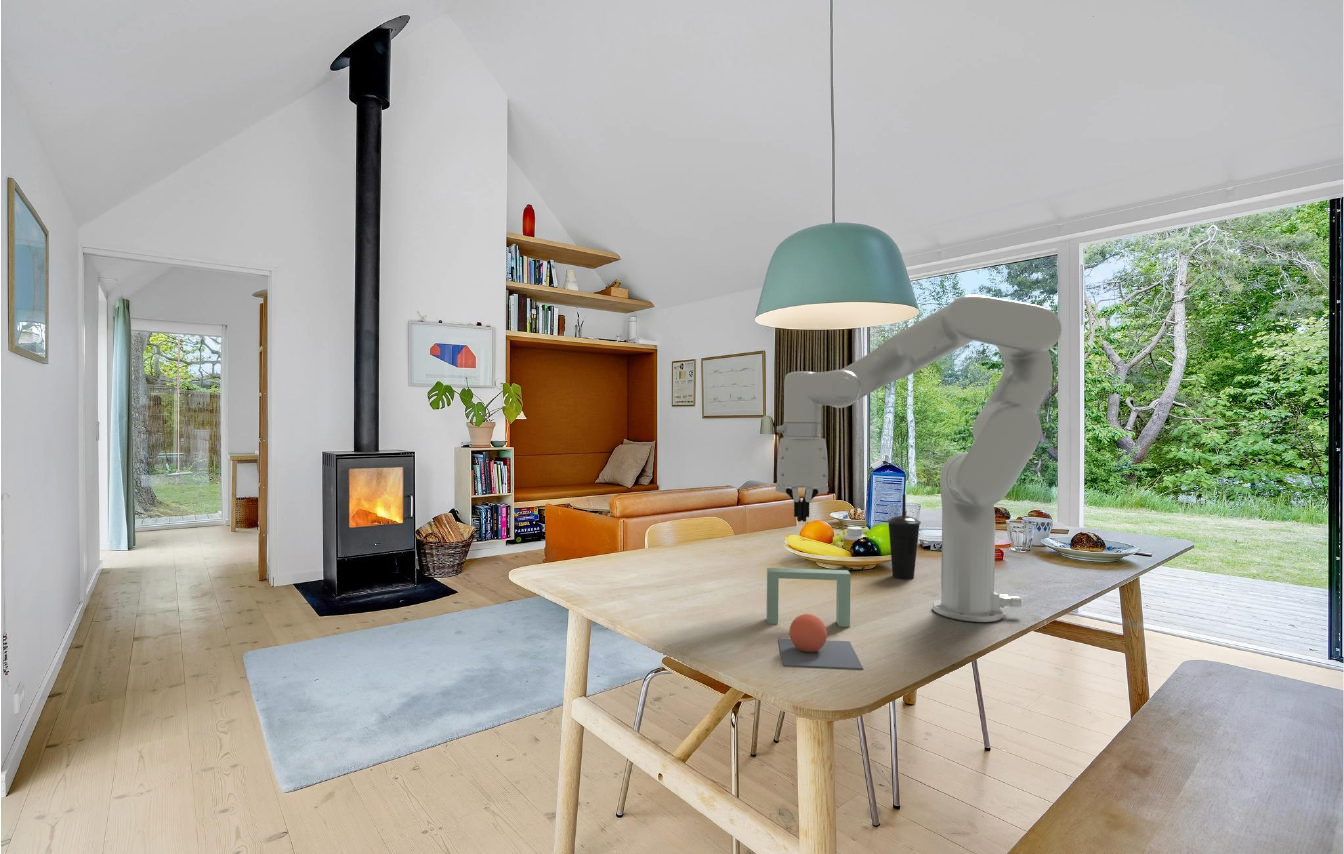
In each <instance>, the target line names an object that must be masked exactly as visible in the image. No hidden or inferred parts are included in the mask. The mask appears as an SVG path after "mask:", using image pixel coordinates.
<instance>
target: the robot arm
mask: <svg viewBox="0 0 1344 854" xmlns="http://www.w3.org/2000/svg"><path fill="white" fill-rule="evenodd" d="M1061 335H1062V324H1061V320H1060V318H1059V317H1058V315H1057V314H1056V313H1054V312H1053V311H1052V310H1051V309H1049V308H1046V307H1044V306H1041V305H1037V304H1031V303H1026V302H1021V301H1014V300H1008V299H1002V298H998V297H992V296H986V295H979V294H965V295H962V296H959V297H957V298H955V300H953V301H951V303H949V304H947V305H946V306H944V307H942V308H940V309H938V310H937V311H935V312H934V313H932V314H930V315H927V317H925V318H923V319H921V320H919V321H918V322H916V323H914V324H912V325H910V326H909V327H907V328H905V329H903V330H901V331H899V332H897V333H896V334H894V335H892V336H891V337H889V338H888V339H886V340H884V342H883V343H881V344H880V345H879V346H877V347H876V348H874V350H872V351H870V352H869V353H867V354H866V355H864V356H862V357H861V358H859V359H858V360H856V361H854V362H853V363H850V364H849V365H847V366H845V367H843V368H842V369H834V370H829V371H817V372H815V371H807V370H806V371H805V370H802V371H799V370H798V371H791V372H789V373H786V375H785V376H784V382H783V383H784V384H783V389H784V391H783V396H784V397H783V424H782V425H777V426H776V433H780V434H782V435H783V437H780V440H779V443H778V444H779V445H778V452H777V460H776V461H777V462H776V464H777V465H776V485H775V490H776V492H779V493H783V494H787V495H788V496H789V498H791V499H792V500H793V517H794V518H796V521H797V522H804V523H806V522H807V518H810V502H811V501H812V500H813V499H814V498H815V497H817V495H821V494H825V493H828V492H829V486H828V485H829V484H828V483H829V464H828V463H829V462H828V449H827V443H826V442H827V441H826V439H825V438H822V406H830V407H833V408H835V409H836V408H837V409H841V408H842V409H843V408H846V407H849V406H851V405H853V404H854V403H855V402H857V401H858V400H860V399H863V398H864V397H866V396H868V395H870V394H871V393H873V392H875V391H877V390H879V389H881V388H882V387H884V386H887V385H888V384H890V383H893V382H896V381H898V380H900V379H901V380H902V379H904V378H906V377H909V376H910V375H912V374H914V373H916V372H918V371H920V370H922V369H924V368H926V367H927V366H929V365H931V364H933V363H935V362H936V361H938V360H940V359H942V358H944V357H946V356H948V355H950V354H952V353H953V352H955V351H957V350H959V349H961V348H963V347H964V346H966V345H968V344H970V343H971V342H973V341H975V342H980V343H984V344H988V345H992V346H996V348H997V350H998V351H999V353H1000V354H1001V357H1002V360H1003V372H1002V374H1001V377H1000V379H999V381H998V382H997V385H996V386H995V388H994V389H993V391H992V393H991V395H990V397H989V398H987V401H986V402H985V404H984V406H983V407H982V409H980V412H979V413H978V415H977V417H975V420H974V422H973V425H972V429H971V431H972V436H973V440H974V442H973V443H972V445H971V447H970V448H969V450H968V451H967V452H966V451H965V452H959V453H956V454H954V455H952V456H951V457H950V458H948V459H947V461H946V462H945V463H944V464H943V466H942V468H941V472H940V474H939V475H940V477H939V486H940V487H939V488H940V498H941V499H940V501H941V569H940V570H941V575H940V576H941V579H940V581H941V583H940V584H941V587H940V589H941V591H940V599H937V600H935V601H934V602H932V610H933V611H934V612H935V613H937V614H938V615H940V616H943V617H946V618H949V619H953V620H958V621H964V622H975V623H989V622H990V623H991V622H997V621H1000V620H1002V619H1003V618H1004V611H1003V610H1002V609H1003V608H1005V607H1011V608H1020V607H1022V599H1021V597H1020V596H1009V595H1008V594H1000V593H998V592H997V591H996V590H995V565H996V563H995V561H996V554H995V553H996V552H995V551H996V549H995V548H996V515H995V514H996V513H995V504H997V503H999V502H1000V501H1002V500H1003V499H1004V498H1005V497H1006V496H1007V494H1008V493H1009V492H1010V490H1011V489H1012V488H1013V487H1014V485H1015V483H1016V482H1017V480H1018V478H1019V477H1020V475H1021V474H1022V472H1023V470H1024V469H1025V467H1026V466H1027V464H1028V463H1029V460H1030V459H1031V457H1032V456H1033V454H1034V453H1035V451H1036V449H1037V447H1038V446H1039V443H1040V440H1041V437H1042V425H1041V420H1040V418H1039V416H1038V415H1037V412H1038V410H1039V409H1040V407H1041V405H1042V403H1043V401H1044V399H1045V398H1046V396H1047V393H1048V392H1049V390H1050V387H1051V386H1052V385H1051V384H1052V382H1053V376H1054V373H1053V372H1054V371H1053V368H1054V367H1053V363H1052V359H1051V354H1050V351H1049V350H1050V349H1052V348H1053V346H1055V345H1056V344H1057V342H1058V341H1059V340H1060V337H1061ZM799 488H804V496H803V497H802V500H801V498H800V494H799Z"/></svg>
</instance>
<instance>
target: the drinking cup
mask: <svg viewBox="0 0 1344 854" xmlns="http://www.w3.org/2000/svg"><path fill="white" fill-rule="evenodd" d="M906 500H907V499H906V494H904V493H902V514H901V515H896V516H893V517H891V518H889V519H887V521H886V522H887V523H888V532H889V533H888V534H889V536H888V537H889V545H890V559H891V571H892V577H893V578H895V579H899V580H913V579H914V578H915V572H916V571H915V570H916V569H915V567H916V561H917V560H916V559H917V550H918V543H919V542H918V541H919V534H920V533H919V532H920V525H921V523H922V522H921V521H920V520H918V519H917V518H914V517H912V516H910V515H906V508H907V507H906Z"/></svg>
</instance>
